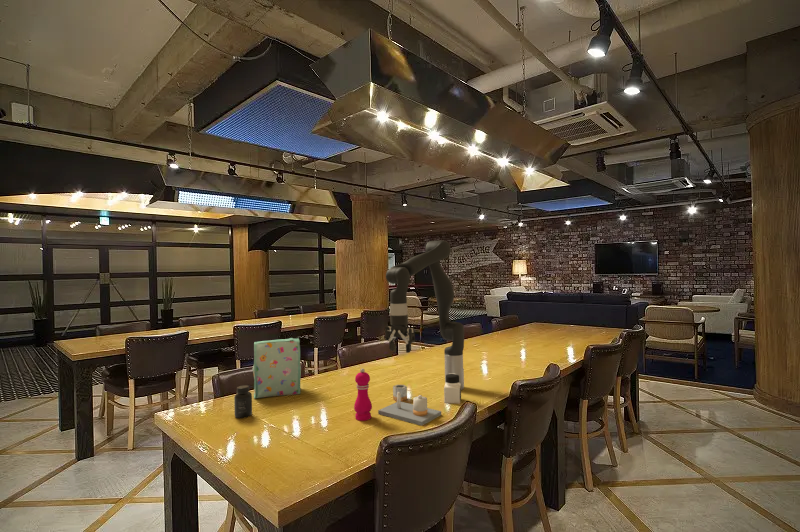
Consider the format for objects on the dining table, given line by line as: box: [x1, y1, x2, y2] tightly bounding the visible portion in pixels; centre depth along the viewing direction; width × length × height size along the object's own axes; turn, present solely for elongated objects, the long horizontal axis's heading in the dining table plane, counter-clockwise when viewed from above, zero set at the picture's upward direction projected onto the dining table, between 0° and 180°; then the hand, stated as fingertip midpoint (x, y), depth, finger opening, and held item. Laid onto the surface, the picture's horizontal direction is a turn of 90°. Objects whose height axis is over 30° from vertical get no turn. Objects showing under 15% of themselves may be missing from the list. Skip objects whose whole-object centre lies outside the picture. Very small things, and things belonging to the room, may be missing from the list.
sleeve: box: [392, 384, 408, 402], centre depth 181 cm, size 6×6×6 cm
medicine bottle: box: [443, 373, 462, 405], centre depth 178 cm, size 7×7×12 cm
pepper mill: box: [353, 367, 373, 422], centre depth 158 cm, size 7×7×20 cm
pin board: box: [377, 392, 442, 426], centre depth 161 cm, size 14×22×9 cm, turn 52°
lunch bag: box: [251, 337, 302, 399], centre depth 194 cm, size 23×16×27 cm
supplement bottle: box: [233, 384, 253, 419], centre depth 163 cm, size 7×7×12 cm
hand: (400, 351), depth 168 cm, fingers open, 8 cm apart
